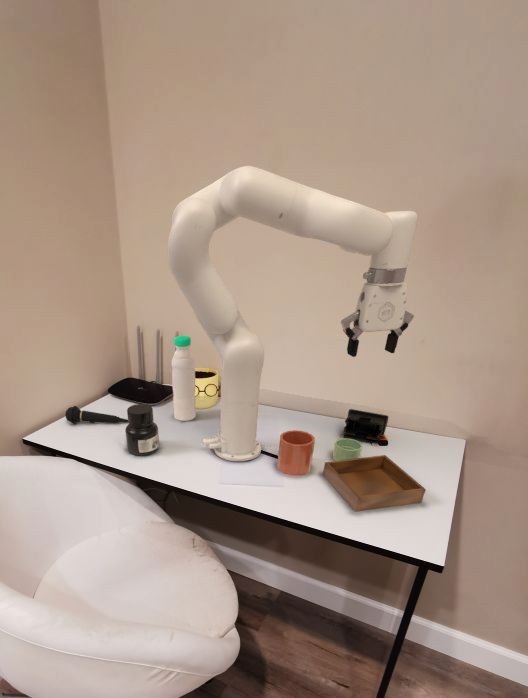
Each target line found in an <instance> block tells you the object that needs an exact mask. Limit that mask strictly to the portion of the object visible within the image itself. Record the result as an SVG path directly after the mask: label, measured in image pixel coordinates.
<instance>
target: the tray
mask: <svg viewBox="0 0 528 698" xmlns="http://www.w3.org/2000/svg"><path fill="white" fill-rule="evenodd" d="M322 475H323V477H324V478H325V479H326V480H327V481H328V482H329V484H330V485H331V486H332V487H333V489H334V490H335V491H336V492H337V493H338V495H340V496H341V498H342V499H343V500H344V501H345V502H346V503H347V504H348V506H349V507H350V508H351V509H352V511H353V512H355V513H357V512H363V511H372V510H380V509H386V508H387V509H388V508H394V507H402V506H410V505H417V504H422V502H423V500H424V496H425V494H426V488H425V487H424V486H422V485H421V484H420V483H419V482H418V481H416V479H414V478H413V477H412V476H411V475H409V473H408V472H406V471H405V470H404V469H402V468H401V467H400V466H399V465H398V464H397V463H396V462H394V461H393V460H392V459H390V457H388V456H387V455H386V454H383V455H374V456H366V457H365V456H364V457H360V458H356V459H348V460H340V461H334V460H333V461H325V462H324V468H323V473H322Z"/></svg>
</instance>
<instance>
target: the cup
mask: <svg viewBox="0 0 528 698" xmlns="http://www.w3.org/2000/svg"><path fill="white" fill-rule="evenodd" d="M315 442H316V438H315V436H314V435H313V434H311V433H309V432H308V431H304V430H297V429H295V430H287V431H283V432H282V433H281V434H280V435H279V442H278V444H279V445H278V453H277V464H276V467H277V469H278V471H279V472H281V473H283V474H285V475H288V476H295V477H300V476H304V475H307V474H309V472H310V471H311V468H312V462H313V457H314V456H313V455H314V448H315Z"/></svg>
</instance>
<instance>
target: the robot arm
mask: <svg viewBox="0 0 528 698" xmlns="http://www.w3.org/2000/svg"><path fill="white" fill-rule="evenodd" d="M238 218H243V219H247V220H248V221H253V222H254V223H258V224H261V225H264V226H266V227H269V228H273V229H275V230H278V231H280V232H284V233H286V234H289V235H293V236H295V237H299V238H303V239H304V238H305V239H312V240H318V241H322V242H326V243H328V244H333V245H336V246H338V247H339V248H340V249H341V250H343V251H344V252H347V253H350V254H358V255H361V256H368V257H369V256H371V258H370V263H369V268H368V271H366V272H363V274H362V279H363V280H366V282H364V283H363V285H362V288H361V291H360V292H359V296H358V299H357V303H356V307H355V311H354V312H352V313H351V314H349V315H347V316H346V317H345V318H343V319H341V321H340V324H341V328H342V331H343V332H344V334H345V335H346V337H347V338H348V341H347V347H346V352H347V355H349V356H350V357H352V358H355V357H357V356H358V355H357V354H358V349H359V344H360V340H359V339H358V338H360V336H361V335H362V334H363V333H374V332H385V331H386V332H387V331H389V332H390V333H388V334H387V336H386V342H385V346H384V350H385V351H386V352H388V353H390V354H395V353H396V348H397V347H398V346H397V345H398V341H399V337H401V336H402V335H403V332H404V331H406V329H408V327H409V324H411V322H412V320H413V319H414V317H415V315H414V314H413V313H411V312H409V311H408V310H406V308H407V299H408V283H407V282H405V278H406V274H407V270H408V265H409V262H410V261H409V260H410V256H411V252H412V247H413V243H414V238H415V233H416V230H417V225H418V221H419V220H418V219H419V217H418V213H417V212H416V211H413V210H393V211H386V212H383V211H380V210H377V209H375V208H372V207H370V206H367V205H364V204H363V203H359V202H356V201H352V200H350V199H346V198H345V197H340V196H337V195H334V194H331V193H328V192H325V191H323V190H321V189H318V188H314V187H311V186H308V185H305V184H302V183H299V182H297V181H295V180H291V179H289V178H286V177H283V176H281V175H278V174H276V173H273V172H270V171H268V170H265V169H262V168H260V167H258V166H257V167H256V166H254V165H243V166H240V167H238V168H235V169H233V170H230V171H229V172H228V173H226V174H224V176H222V177H220V178H218V179H217V180H215V181H214V182H212V183H210V184H209V185H207V186H205V187H204V188H202V189H199V191H197V192H195V193H193V194H191V195H189V196H188V197H186V198H184V199H182V200H181V201H180V202H178V204H177V205H176V206H175V207H174V210H173V212H172V215H171V227H170V230H169V235H168V240H167V261H168V266H169V269H170V272H171V274H172V277H173V278H174V281H175V282H176V284H177V285H178V288H179V289H180V290H181V293H182V294H183V296H184V298H185V300H186V301H187V303H188V304H189V306H190V307H191V309H192V311H193V314H194V317H195V318H196V320H197V322H198V323H199V325H200V326H201V327H202V329H203V331H204V332H205V334H206V335H207V337H208V338H209V340H210V341H211V343H212V344H213V346H214V348H215V349H216V351H217V352H218V355H219V356H220V357H221V358H220V359H221V360H222V367H221V368H222V370H221V379H220V414H219V416H220V417H219V418H220V421H219V422H220V423H219V424H220V425H219V432H217V433H216V436H213V437H212V438H202V440H201V441H202V446H203V447H208V449H209V450H213V451H214V453H215V455H217V456H218V457H219V458H221V459H222V460H226V461H231V462H247V461H251V460H254V459H256V458H257V457H259V456H261V455H260V454H261V453H262V445H261V443H260V442H258V441H257V433H258V431H257V430H258V417H259V415H258V414H259V404H260V403H259V402H260V387H261V379H262V372H263V366H264V361H265V350H264V346H263V343H262V341H261V339H260V338H259V336H258V335H257V334H256V333H255V332H254V331H252V330H251V329H250V327H249V326H248V324H247V322H246V321H245V319H244V317H243V316H242V314H241V311H240V310H239V307H238V303H237V301H236V299H235V297H234V296H233V294H232V293H231V292H230V290H229V289H228V288H227V286H226V285H225V283H224V281H223V280H222V278H221V276H220V274H219V273H218V271H217V269H216V266H215V265H214V262H213V261H212V258H211V255H210V250H209V249H210V242H211V239H212V237H213V235H214V233H215V232H216V231H218V230H219V229H221V228H223V227H224V226H226V225H228V224H230V223H231V222H233V221H234V220H236V219H238ZM351 323H353V324H352V325H353V327H352V328H351Z"/></svg>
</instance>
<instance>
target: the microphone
mask: <svg viewBox="0 0 528 698" xmlns="http://www.w3.org/2000/svg"><path fill="white" fill-rule="evenodd" d="M64 416H65V419H66V420H67V422H69V423H71V424H72V425H77V424H79V423H80V422H84V423H90V424H95V423H101V424H102V423H105V424H117V423H118V424H119V423H129V422H128V418H124V417H120V416H117V415H113V414H107V413H101V412H95V411H88V410H81V408H79V407H78V406H77V405H74V406H70V407H68V408H67V409H66V411H65V415H64Z"/></svg>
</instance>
